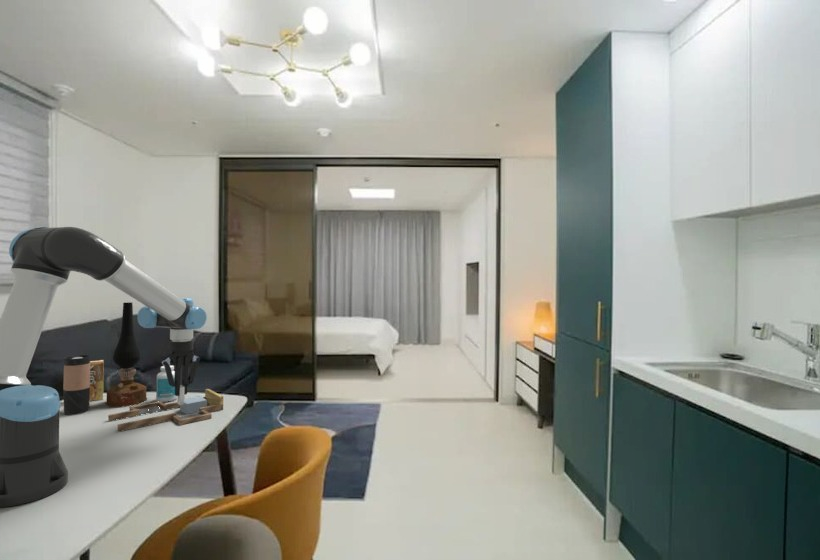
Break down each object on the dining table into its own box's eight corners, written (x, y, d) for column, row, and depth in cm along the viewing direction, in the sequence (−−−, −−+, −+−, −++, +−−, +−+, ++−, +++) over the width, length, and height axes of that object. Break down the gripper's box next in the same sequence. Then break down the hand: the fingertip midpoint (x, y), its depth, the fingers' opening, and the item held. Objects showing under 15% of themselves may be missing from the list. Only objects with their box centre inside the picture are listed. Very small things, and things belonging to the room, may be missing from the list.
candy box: (103, 397, 172) (103, 359, 172) (103, 399, 169) (103, 361, 169) (75, 400, 167) (75, 362, 167) (75, 403, 164) (75, 363, 163)
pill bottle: (181, 399, 171) (181, 366, 171) (162, 403, 165) (162, 369, 165) (171, 396, 175) (171, 363, 175) (152, 400, 169) (152, 366, 169)
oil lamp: (115, 406, 172) (102, 309, 174) (156, 397, 175) (143, 302, 178) (99, 412, 158) (84, 307, 161) (144, 403, 162) (129, 300, 165)
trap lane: (124, 437, 130) (124, 421, 130) (103, 415, 150) (103, 401, 150) (231, 413, 154) (231, 400, 154) (201, 397, 174) (201, 385, 174)
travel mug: (78, 415, 150) (79, 359, 150) (57, 414, 150) (58, 358, 150) (94, 408, 158) (95, 355, 157) (74, 408, 158) (75, 354, 158)
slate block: (186, 414, 153) (186, 403, 153) (179, 410, 158) (180, 399, 158) (206, 410, 158) (206, 400, 158) (199, 406, 163) (199, 396, 163)
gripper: (196, 337, 162) (195, 398, 163) (158, 340, 153) (157, 405, 153) (204, 339, 157) (203, 402, 157) (165, 343, 148) (164, 410, 148)
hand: (180, 404), depth 155 cm, fingers closed
